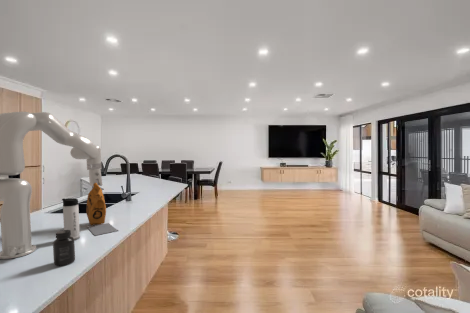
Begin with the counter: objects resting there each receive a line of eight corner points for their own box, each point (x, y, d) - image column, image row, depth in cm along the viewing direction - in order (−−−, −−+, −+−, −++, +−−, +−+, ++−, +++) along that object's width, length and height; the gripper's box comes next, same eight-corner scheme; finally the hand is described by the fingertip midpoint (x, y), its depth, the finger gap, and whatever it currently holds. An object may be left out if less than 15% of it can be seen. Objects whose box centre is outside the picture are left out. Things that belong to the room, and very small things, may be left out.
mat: (118, 231, 135) (118, 230, 135) (94, 235, 128) (94, 235, 128) (108, 223, 150) (108, 223, 150) (87, 227, 143) (87, 227, 143)
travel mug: (65, 238, 126) (63, 197, 125) (80, 236, 128) (79, 196, 127) (61, 242, 120) (60, 200, 119) (78, 240, 122) (76, 198, 122)
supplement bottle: (79, 258, 101) (77, 228, 101) (68, 266, 94) (67, 234, 94) (61, 259, 101) (60, 229, 101) (49, 267, 94) (47, 234, 94)
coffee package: (86, 227, 143) (88, 197, 133) (85, 212, 152) (86, 182, 142) (106, 224, 149) (109, 195, 139) (104, 210, 157) (106, 181, 148)
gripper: (104, 167, 146) (106, 198, 147) (98, 165, 158) (100, 195, 159) (89, 168, 141) (91, 201, 142) (84, 166, 153) (86, 197, 154)
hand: (96, 197), depth 151 cm, fingers closed
